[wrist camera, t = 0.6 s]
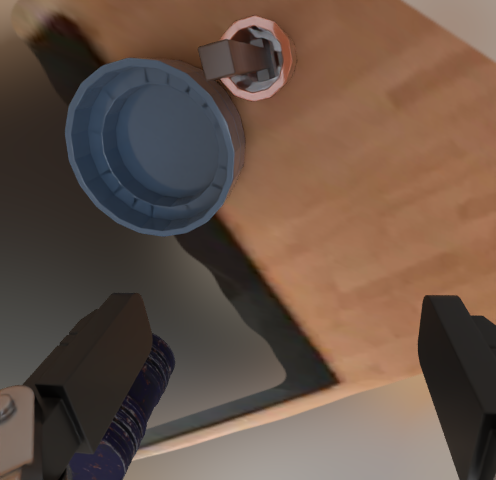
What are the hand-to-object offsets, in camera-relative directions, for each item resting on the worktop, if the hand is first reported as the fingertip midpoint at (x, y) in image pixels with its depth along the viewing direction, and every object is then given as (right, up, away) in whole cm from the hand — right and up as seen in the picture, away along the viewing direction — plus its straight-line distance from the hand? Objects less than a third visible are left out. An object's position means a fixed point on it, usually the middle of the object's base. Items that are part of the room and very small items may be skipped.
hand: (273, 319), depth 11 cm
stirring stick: (+1, +18, +21) cm, 28 cm away
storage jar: (-16, -14, +41) cm, 46 cm away
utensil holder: (+1, +18, +22) cm, 28 cm away
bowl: (-8, +12, +26) cm, 30 cm away
